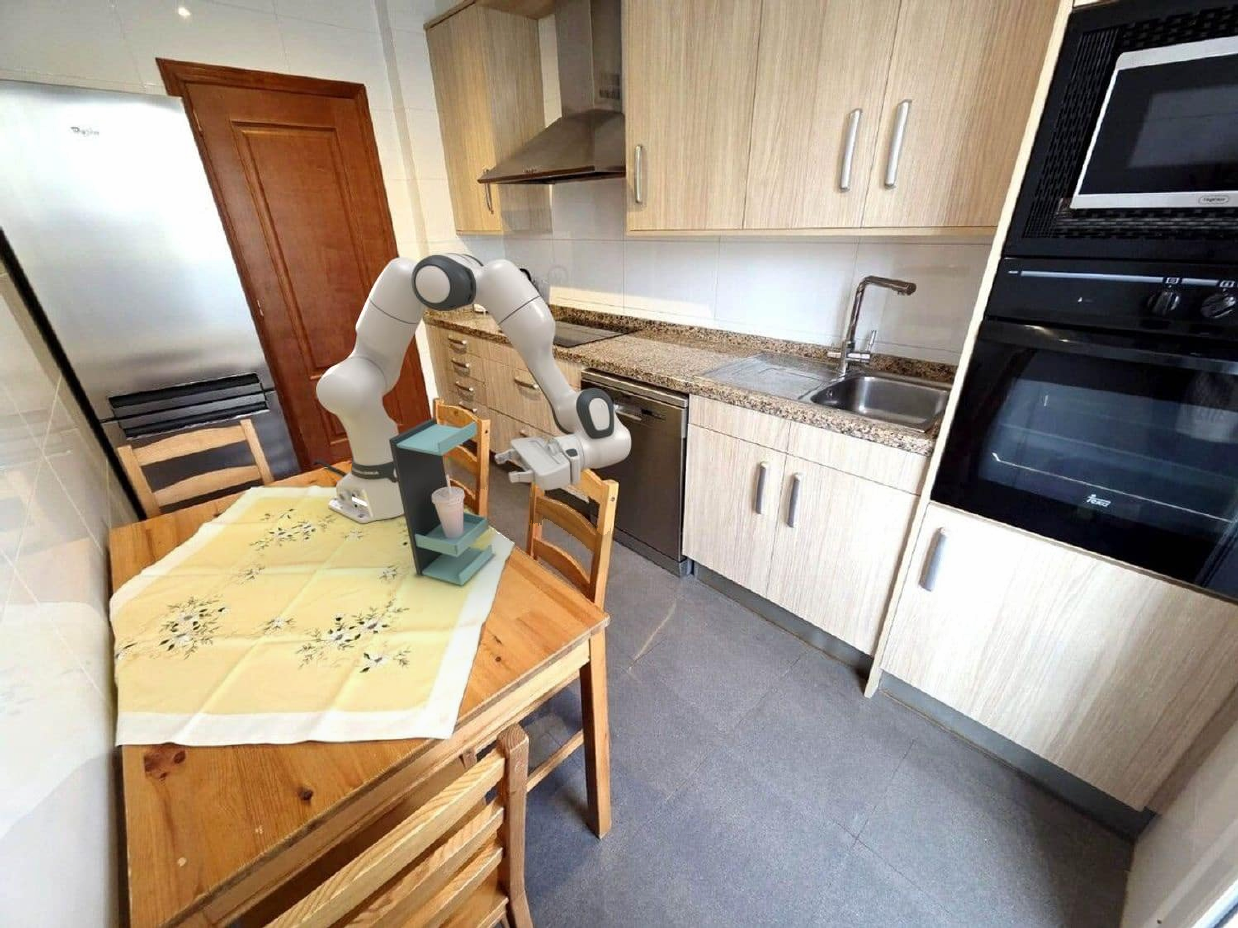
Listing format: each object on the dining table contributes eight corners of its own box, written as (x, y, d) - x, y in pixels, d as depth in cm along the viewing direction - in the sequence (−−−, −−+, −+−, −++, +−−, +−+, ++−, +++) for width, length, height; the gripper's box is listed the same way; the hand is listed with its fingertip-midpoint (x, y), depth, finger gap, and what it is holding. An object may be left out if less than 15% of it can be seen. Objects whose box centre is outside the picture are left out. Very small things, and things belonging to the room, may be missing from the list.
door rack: (416, 574, 105) (387, 434, 91) (452, 543, 116) (431, 413, 101) (460, 587, 102) (437, 443, 88) (493, 554, 112) (477, 420, 98)
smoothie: (461, 544, 102) (451, 483, 96) (432, 540, 103) (421, 480, 97) (475, 527, 107) (467, 469, 101) (447, 523, 109) (438, 465, 102)
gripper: (545, 426, 118) (487, 437, 112) (582, 460, 102) (516, 474, 95) (546, 451, 120) (489, 462, 114) (583, 487, 104) (519, 503, 98)
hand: (502, 468), depth 105 cm, fingers open, 8 cm apart
